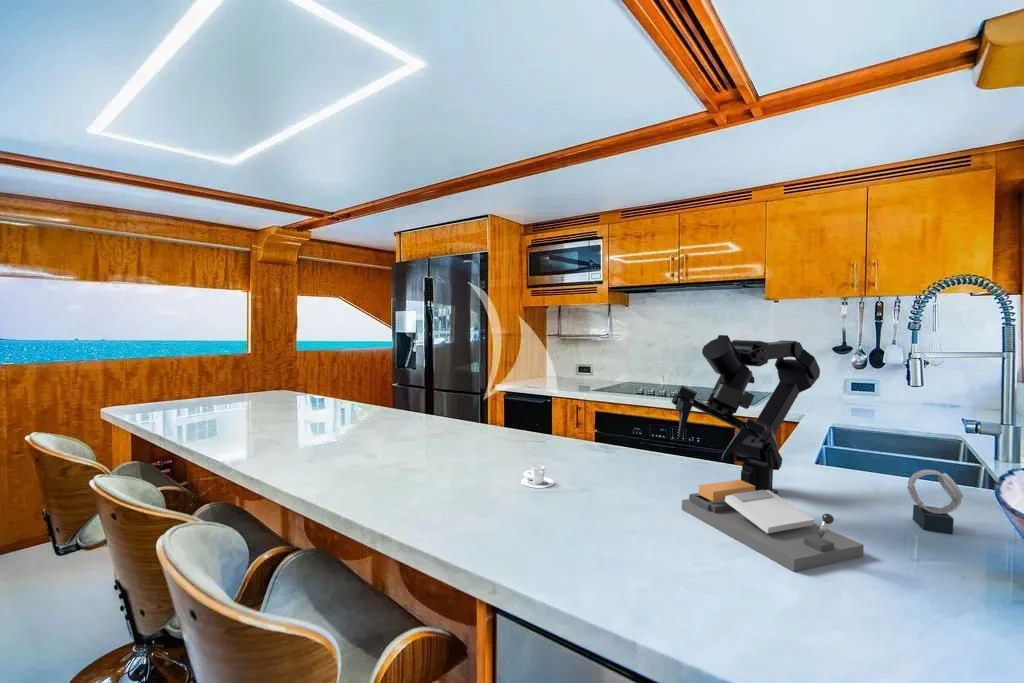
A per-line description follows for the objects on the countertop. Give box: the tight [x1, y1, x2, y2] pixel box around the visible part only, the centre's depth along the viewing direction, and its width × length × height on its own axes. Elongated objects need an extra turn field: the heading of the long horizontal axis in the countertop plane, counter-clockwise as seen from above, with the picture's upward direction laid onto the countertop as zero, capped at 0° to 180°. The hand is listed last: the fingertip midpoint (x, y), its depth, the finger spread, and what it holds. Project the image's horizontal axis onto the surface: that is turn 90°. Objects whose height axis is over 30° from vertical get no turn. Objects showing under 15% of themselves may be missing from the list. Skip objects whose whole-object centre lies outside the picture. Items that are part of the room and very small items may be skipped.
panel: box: [681, 492, 865, 573], centre depth 89 cm, size 16×26×3 cm, turn 20°
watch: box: [907, 469, 964, 535], centre depth 92 cm, size 6×8×11 cm
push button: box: [698, 479, 755, 501], centre depth 97 cm, size 11×4×2 cm, turn 110°
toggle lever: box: [817, 513, 835, 538], centre depth 78 cm, size 2×2×5 cm
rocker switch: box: [725, 490, 815, 533], centre depth 88 cm, size 11×10×1 cm
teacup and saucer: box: [520, 464, 555, 489], centre depth 114 cm, size 9×8×4 cm
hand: (700, 447), depth 98 cm, fingers open, 9 cm apart
